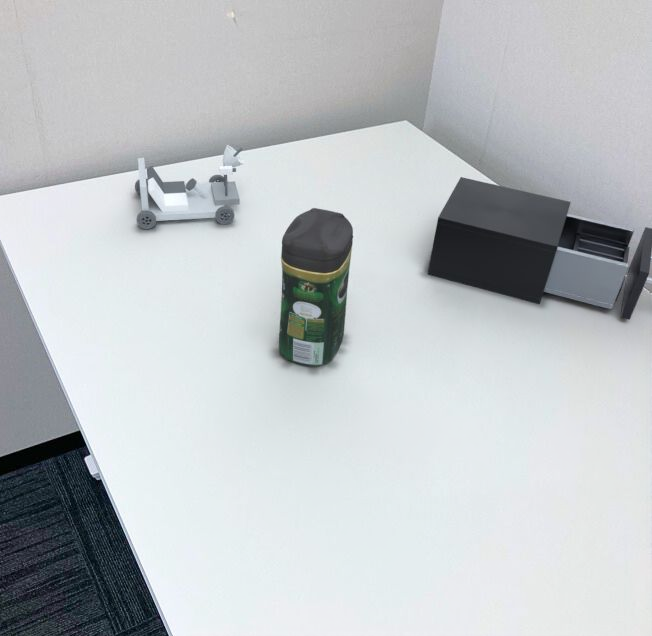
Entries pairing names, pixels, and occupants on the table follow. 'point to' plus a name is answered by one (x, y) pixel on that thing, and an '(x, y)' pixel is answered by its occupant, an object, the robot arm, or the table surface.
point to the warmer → (498, 239)
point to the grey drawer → (599, 264)
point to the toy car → (188, 195)
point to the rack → (622, 259)
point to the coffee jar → (314, 286)
